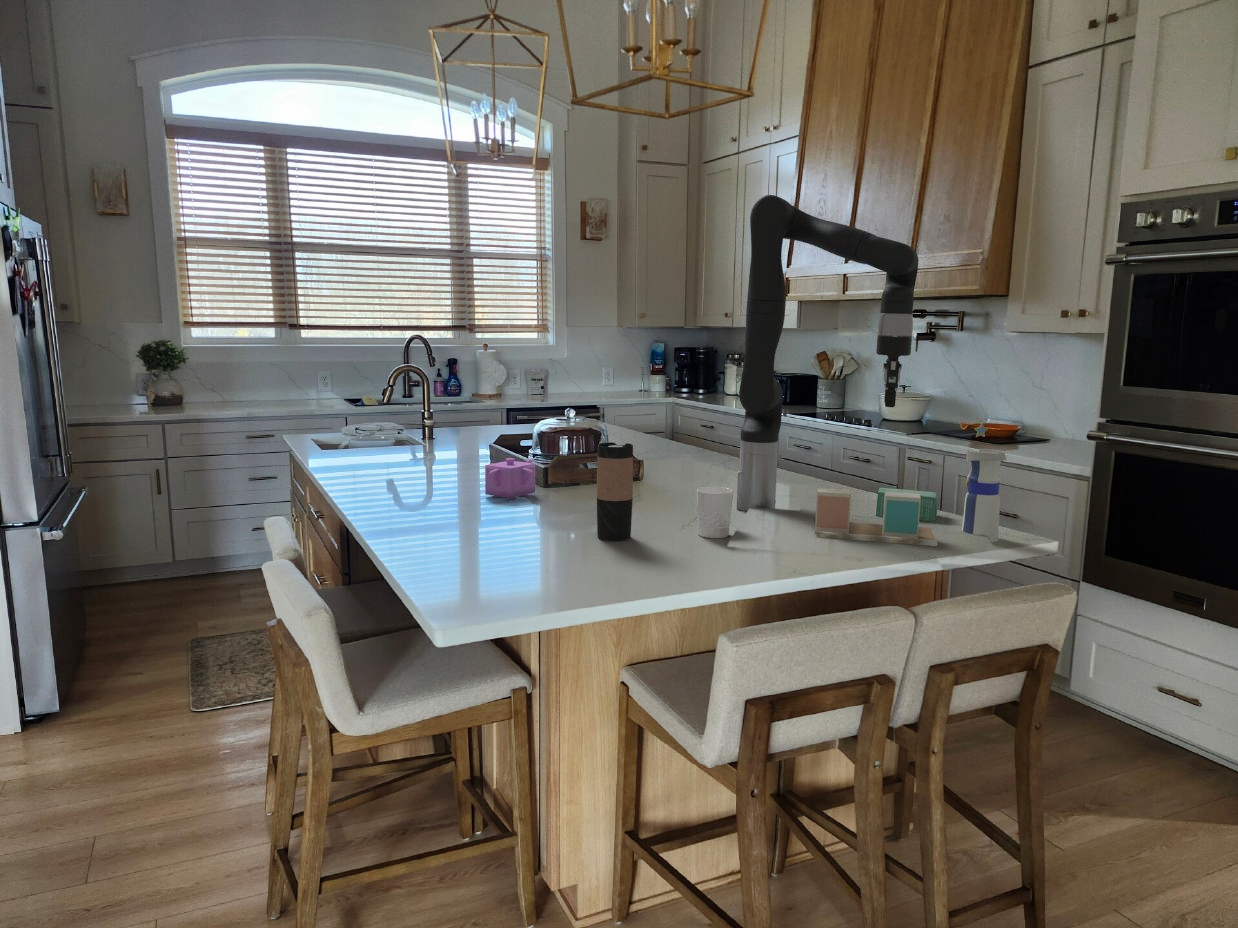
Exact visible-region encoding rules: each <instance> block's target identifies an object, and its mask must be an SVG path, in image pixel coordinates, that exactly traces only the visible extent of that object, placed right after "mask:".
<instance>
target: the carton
mask: <svg viewBox="0 0 1238 928" xmlns="http://www.w3.org/2000/svg"><path fill="white" fill-rule="evenodd" d="M920 503H921V497H920V494H913V493H897V492H885V497H884V513H883V517H882V524H883V528H882V536H888V537H902V538H915V539H918V531H919V527H920V520H919V517H920Z"/></svg>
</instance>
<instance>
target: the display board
mask: <svg viewBox="0 0 1238 928" xmlns="http://www.w3.org/2000/svg"><path fill="white" fill-rule="evenodd" d="M882 528H883V523H867V522H854V521H853V522H851V521H849V534H848V533H834V532H820V531H817V533H816V537H817V538H823V539H835V540H851V541H863V542H864V541H869V542H876V543H877V542H880V543H890V544H901V545H918V546H919V545H920V546H932V547H937V546H938V542H939V541H938V540H937V539H935V536H934V534H933V531H932V529H931V527H925V526H924V527H921V526H919V531H918V539H915V538H902V537H888V536H882Z"/></svg>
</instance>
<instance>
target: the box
mask: <svg viewBox="0 0 1238 928" xmlns="http://www.w3.org/2000/svg"><path fill="white" fill-rule="evenodd" d="M885 492H897V493H913V494H920V497H921V503H920V517H919V521H927V522H928V521H929V522H930V521H931V522H935V521H937V515H938V493H937V492H935V491H925V490H914V489H913V490H912V489H902V488H900V489H899V488H887V487H879V488H878V491H877V497H876V498H877V499H876V510H875V511H876V512H875V516H876V517H881V518H883V513H884V497H885Z"/></svg>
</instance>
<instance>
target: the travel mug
mask: <svg viewBox="0 0 1238 928" xmlns="http://www.w3.org/2000/svg"><path fill="white" fill-rule="evenodd" d="M596 460H597V466H596V469H597V470H596V524H597V525H596V528H597V529H596V531H597V538H598V539H599V540H602V541H608V542H621V541H622V542H623V541H627V540H630V539H631V536H632V535H631V534H632V516H633V514H632V513H633V500H634V499H633V495H634V493H633V492H634V491H633V490H634V488H633V487H634V486H633V485H634V484H633V483H634V480H633V479H634V464H633V463H634V445H633V444H632V443H628V442H627V443H625V444H623V445H621V444H620V445H619V444H617V443H616V442H600V443H597V459H596Z"/></svg>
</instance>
